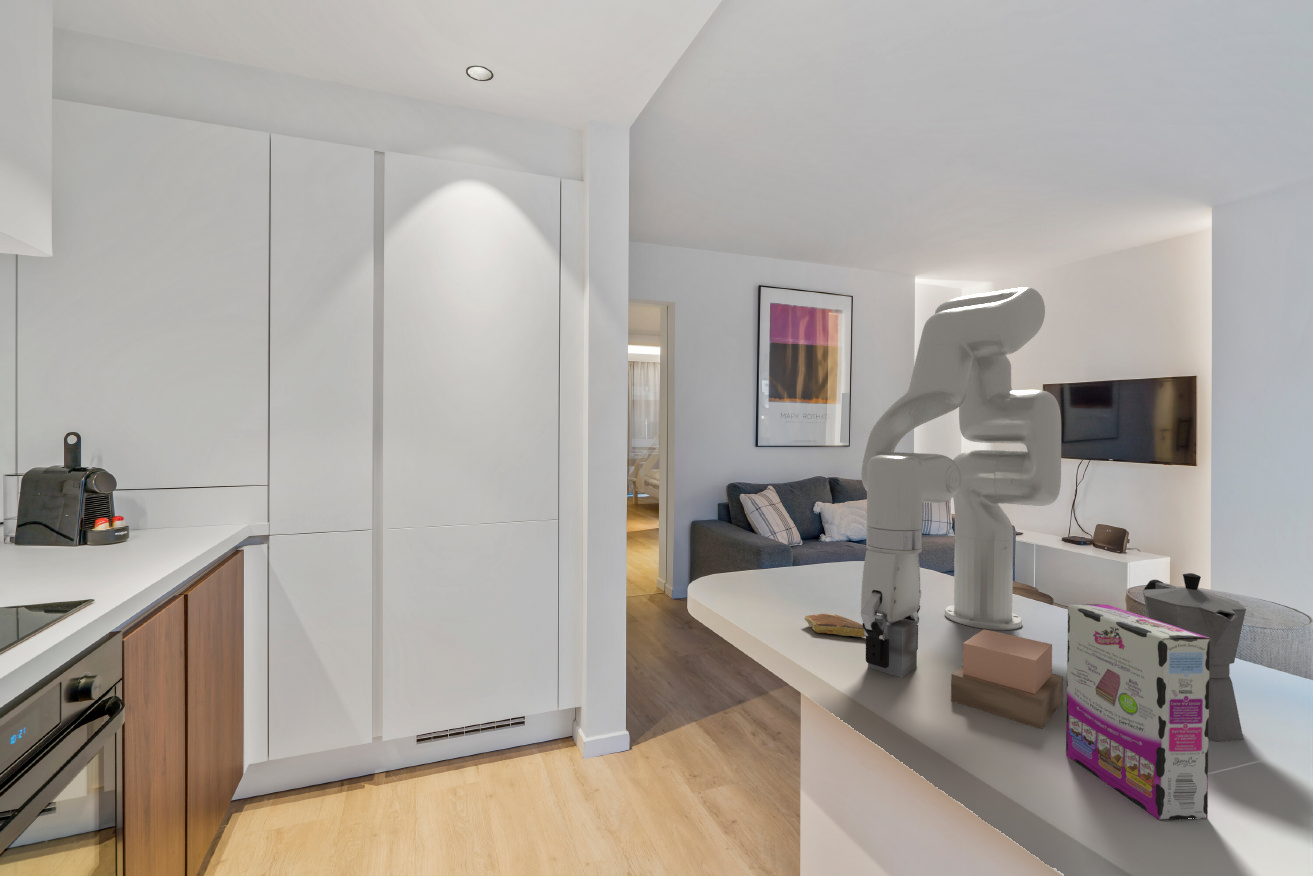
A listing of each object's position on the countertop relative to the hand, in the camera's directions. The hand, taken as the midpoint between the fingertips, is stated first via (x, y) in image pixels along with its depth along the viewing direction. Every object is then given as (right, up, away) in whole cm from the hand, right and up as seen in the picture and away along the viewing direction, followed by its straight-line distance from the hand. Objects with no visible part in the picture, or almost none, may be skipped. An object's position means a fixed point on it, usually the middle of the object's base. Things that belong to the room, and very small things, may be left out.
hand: (892, 656), depth 86 cm
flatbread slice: (+1, -3, +16) cm, 16 cm away
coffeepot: (+29, -2, -15) cm, 33 cm away
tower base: (+10, -2, -11) cm, 15 cm away
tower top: (+10, +2, -11) cm, 15 cm away
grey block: (0, -2, 0) cm, 2 cm away
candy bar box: (+12, -2, -29) cm, 31 cm away
